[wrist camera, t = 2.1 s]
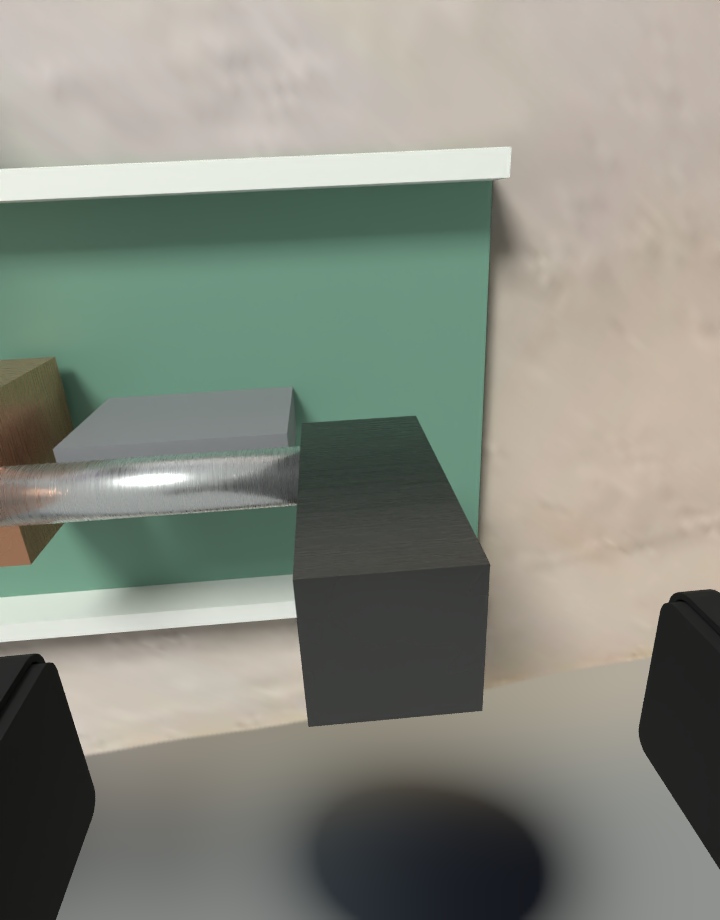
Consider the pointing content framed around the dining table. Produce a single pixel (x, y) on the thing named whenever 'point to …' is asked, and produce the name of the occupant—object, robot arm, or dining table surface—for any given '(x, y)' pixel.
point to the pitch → (236, 350)
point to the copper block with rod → (316, 541)
